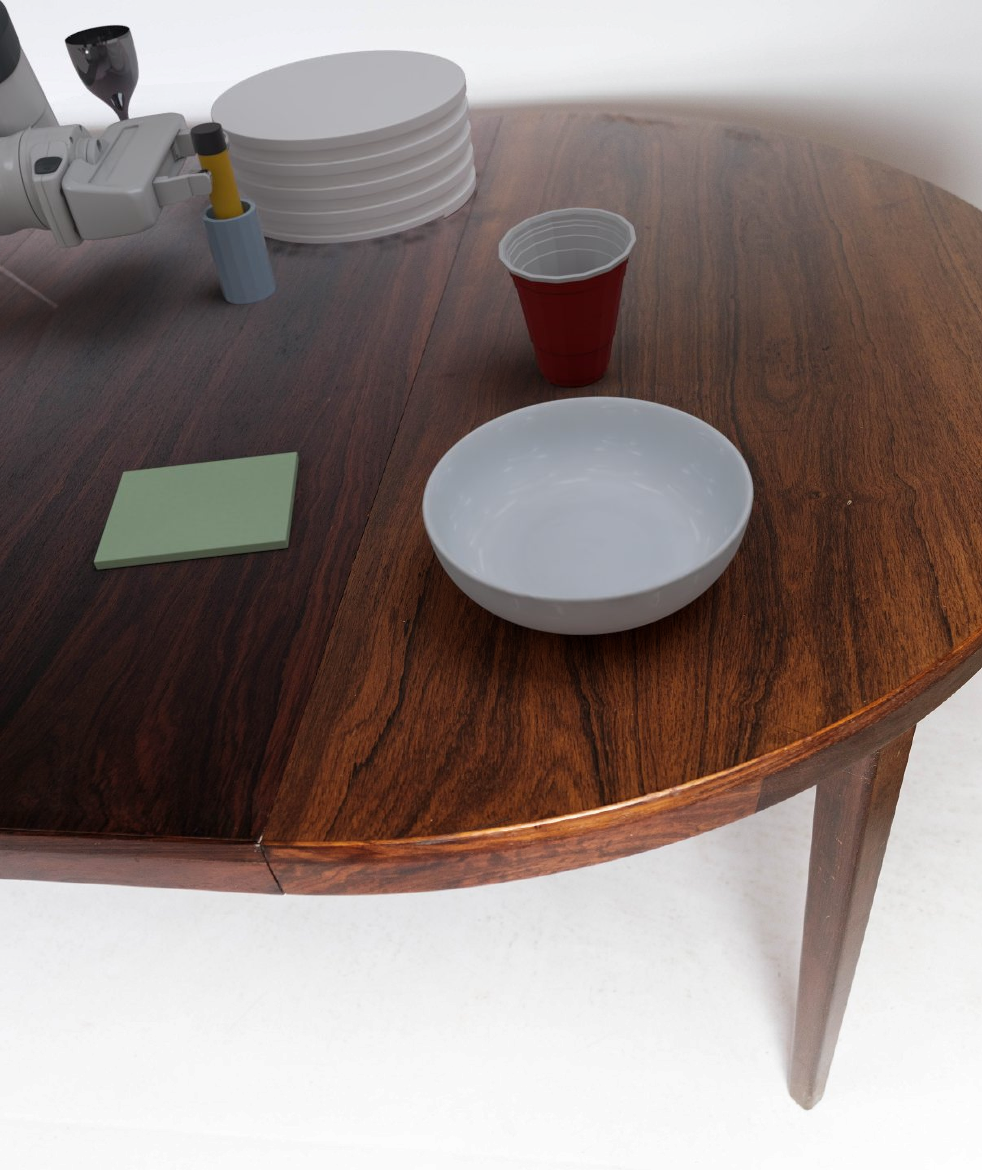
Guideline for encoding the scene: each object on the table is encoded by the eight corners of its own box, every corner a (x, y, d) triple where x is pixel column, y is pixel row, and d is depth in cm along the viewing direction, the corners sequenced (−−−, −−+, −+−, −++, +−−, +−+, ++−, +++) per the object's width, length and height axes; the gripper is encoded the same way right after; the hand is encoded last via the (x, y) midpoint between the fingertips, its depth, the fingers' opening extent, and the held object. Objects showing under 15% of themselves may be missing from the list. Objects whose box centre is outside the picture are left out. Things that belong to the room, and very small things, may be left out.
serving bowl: (499, 455, 82) (491, 379, 77) (772, 497, 75) (781, 416, 70) (384, 640, 68) (365, 561, 63) (705, 712, 61) (711, 629, 56)
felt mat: (96, 570, 76) (93, 561, 76) (126, 479, 84) (123, 471, 84) (288, 548, 76) (285, 539, 75) (299, 459, 84) (297, 451, 83)
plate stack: (193, 206, 125) (163, 106, 117) (378, 132, 137) (362, 37, 129) (329, 272, 108) (306, 161, 100) (526, 181, 121) (518, 75, 113)
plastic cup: (485, 387, 89) (469, 253, 81) (551, 328, 95) (543, 199, 87) (597, 418, 84) (592, 279, 76) (659, 354, 90) (661, 219, 82)
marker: (234, 299, 105) (188, 135, 94) (237, 286, 107) (192, 124, 96) (262, 296, 104) (219, 131, 94) (265, 283, 107) (223, 120, 96)
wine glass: (179, 149, 140) (143, 25, 130) (141, 172, 135) (100, 46, 125) (132, 145, 143) (93, 24, 133) (93, 167, 138) (50, 44, 128)
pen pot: (222, 312, 104) (197, 224, 98) (229, 287, 108) (204, 202, 102) (274, 306, 104) (252, 218, 98) (279, 281, 108) (257, 195, 102)
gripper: (110, 168, 107) (244, 153, 107) (56, 257, 92) (211, 241, 92) (89, 104, 103) (228, 88, 103) (28, 186, 88) (190, 169, 88)
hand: (220, 161), depth 97 cm, fingers open, 8 cm apart
